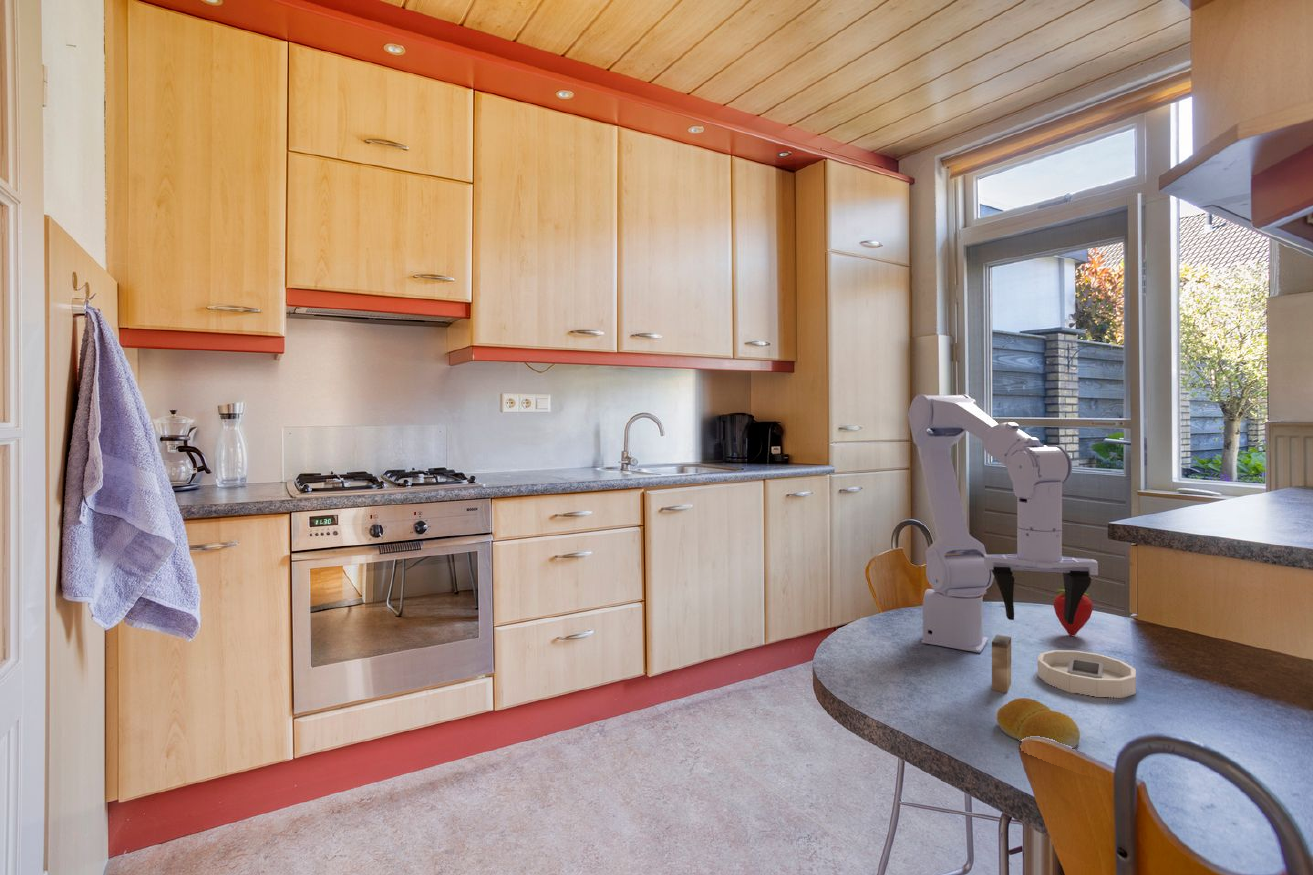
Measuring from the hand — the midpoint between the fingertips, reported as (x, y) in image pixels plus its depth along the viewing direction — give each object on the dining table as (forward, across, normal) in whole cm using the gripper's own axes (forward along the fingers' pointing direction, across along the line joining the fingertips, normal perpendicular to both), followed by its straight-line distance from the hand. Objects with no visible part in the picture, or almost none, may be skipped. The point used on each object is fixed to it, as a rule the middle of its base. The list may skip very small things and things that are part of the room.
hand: (1039, 620), depth 99 cm
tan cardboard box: (+10, -5, -2) cm, 11 cm away
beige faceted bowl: (+10, +7, +3) cm, 12 cm away
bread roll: (+10, -4, -18) cm, 21 cm away
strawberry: (+10, +11, +26) cm, 30 cm away
